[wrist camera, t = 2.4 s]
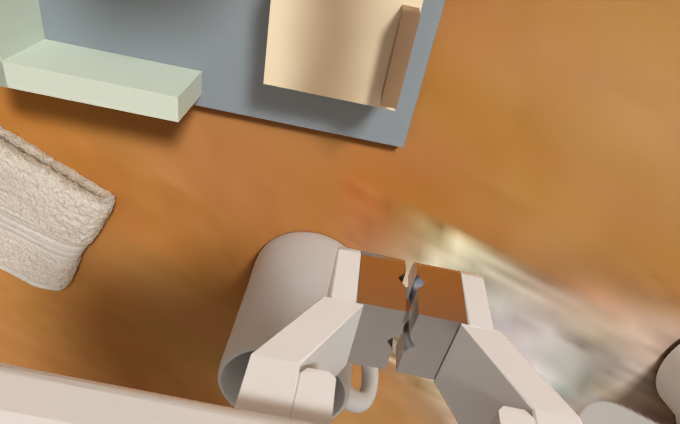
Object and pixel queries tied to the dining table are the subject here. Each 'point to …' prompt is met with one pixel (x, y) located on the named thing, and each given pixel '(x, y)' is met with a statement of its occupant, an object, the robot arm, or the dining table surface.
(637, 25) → the dining table surface
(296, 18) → the beige box with tab
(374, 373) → the mug
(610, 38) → the dining table surface
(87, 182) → the washcloth
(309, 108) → the dock
